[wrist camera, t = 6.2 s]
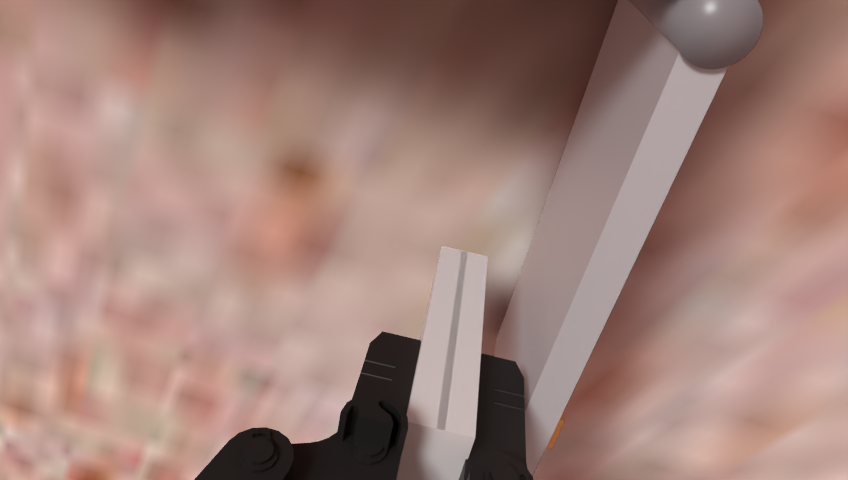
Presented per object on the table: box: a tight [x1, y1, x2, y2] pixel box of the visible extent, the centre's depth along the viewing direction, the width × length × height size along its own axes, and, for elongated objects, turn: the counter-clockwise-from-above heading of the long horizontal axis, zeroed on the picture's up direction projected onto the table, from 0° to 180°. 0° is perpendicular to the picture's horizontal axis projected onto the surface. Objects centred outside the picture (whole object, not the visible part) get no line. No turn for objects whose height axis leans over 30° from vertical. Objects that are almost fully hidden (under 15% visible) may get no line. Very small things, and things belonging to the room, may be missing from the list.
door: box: [494, 0, 763, 476], centre depth 15 cm, size 13×2×7 cm, turn 168°
